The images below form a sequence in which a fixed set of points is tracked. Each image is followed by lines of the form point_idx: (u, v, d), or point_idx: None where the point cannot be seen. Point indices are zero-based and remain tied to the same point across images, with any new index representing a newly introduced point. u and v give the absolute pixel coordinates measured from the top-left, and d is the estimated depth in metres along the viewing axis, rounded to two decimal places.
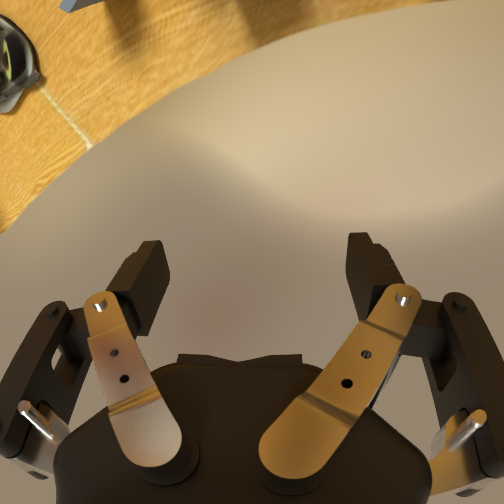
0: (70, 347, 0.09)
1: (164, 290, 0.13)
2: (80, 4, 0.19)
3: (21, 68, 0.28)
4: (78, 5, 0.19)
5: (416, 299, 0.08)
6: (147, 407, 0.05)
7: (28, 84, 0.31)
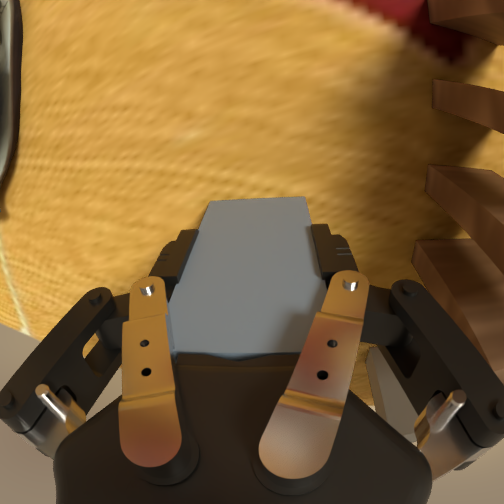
0: (113, 334, 0.09)
1: None
2: None
3: None
4: None
5: (363, 283, 0.09)
6: (157, 407, 0.05)
7: None
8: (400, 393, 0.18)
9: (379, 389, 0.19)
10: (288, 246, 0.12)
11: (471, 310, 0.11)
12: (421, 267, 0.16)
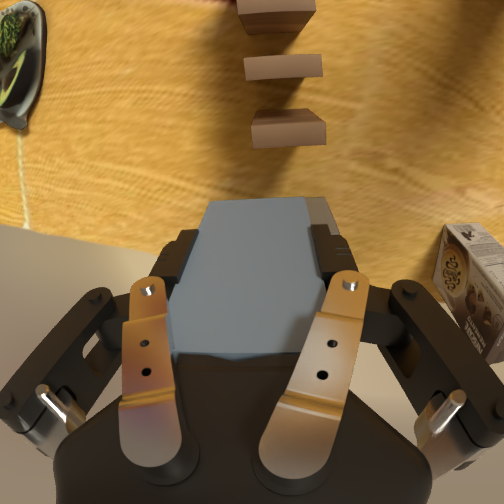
0: (113, 334, 0.09)
1: None
2: None
3: (15, 103, 0.24)
4: None
5: (363, 282, 0.09)
6: (157, 407, 0.05)
7: (11, 123, 0.26)
8: None
9: None
10: (287, 247, 0.12)
11: (260, 119, 0.22)
12: None
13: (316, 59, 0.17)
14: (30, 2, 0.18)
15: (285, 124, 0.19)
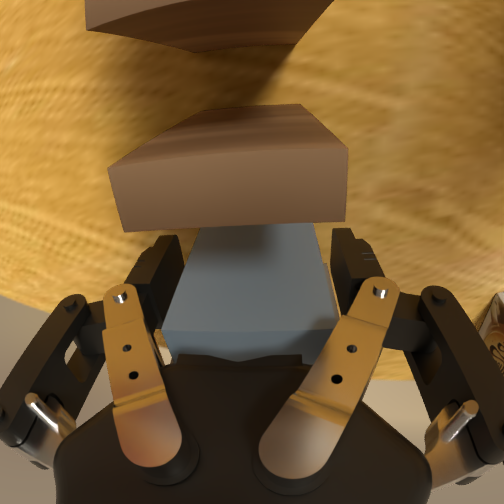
0: (88, 340, 0.09)
1: None
2: None
3: None
4: None
5: (394, 290, 0.08)
6: (152, 407, 0.05)
7: None
8: None
9: None
10: (289, 237, 0.12)
11: (175, 132, 0.09)
12: None
13: None
14: None
15: (210, 156, 0.06)
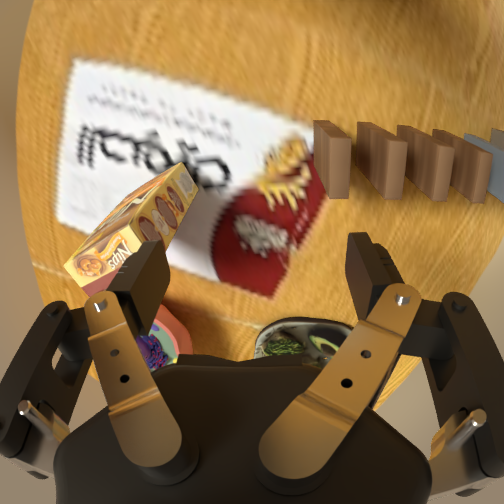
0: (71, 347, 0.09)
1: (164, 290, 0.13)
2: None
3: None
4: None
5: (415, 299, 0.08)
6: (147, 407, 0.05)
7: None
8: None
9: None
10: None
11: (455, 183, 0.26)
12: None
13: (443, 150, 0.21)
14: (266, 330, 0.45)
15: (477, 179, 0.22)
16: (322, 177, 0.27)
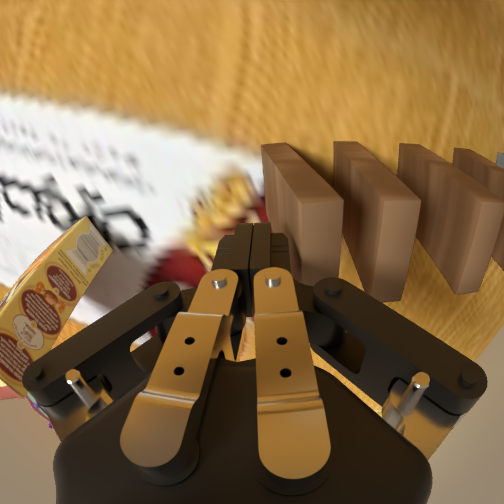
0: None
1: None
2: None
3: None
4: None
5: (286, 276, 0.10)
6: (171, 411, 0.05)
7: None
8: None
9: None
10: None
11: None
12: None
13: (486, 209, 0.10)
14: None
15: None
16: None
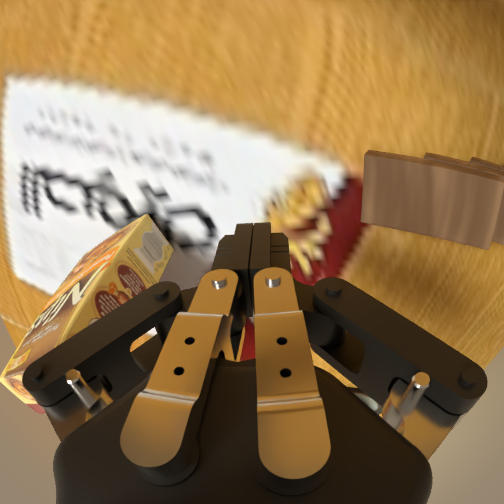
0: None
1: None
2: None
3: None
4: None
5: (286, 276, 0.10)
6: (171, 411, 0.05)
7: None
8: None
9: None
10: None
11: None
12: None
13: None
14: None
15: None
16: (442, 231, 0.18)
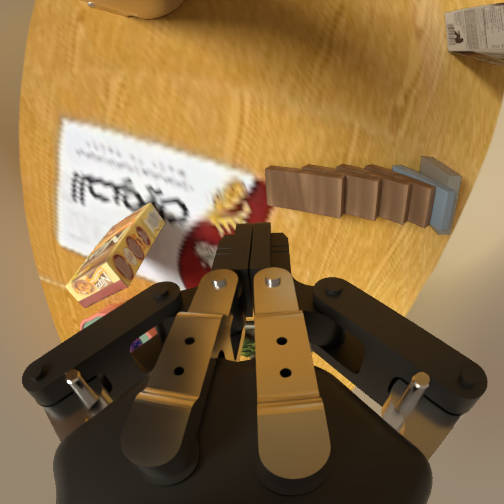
0: None
1: None
2: None
3: None
4: None
5: (286, 276, 0.10)
6: (171, 411, 0.05)
7: None
8: None
9: None
10: None
11: None
12: None
13: (409, 187, 0.31)
14: None
15: (427, 210, 0.31)
16: (310, 208, 0.37)
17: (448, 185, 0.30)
